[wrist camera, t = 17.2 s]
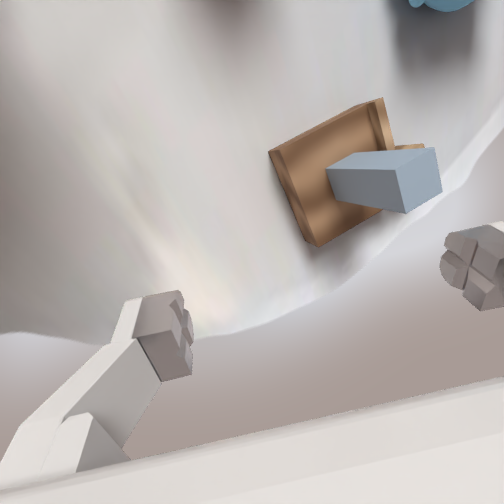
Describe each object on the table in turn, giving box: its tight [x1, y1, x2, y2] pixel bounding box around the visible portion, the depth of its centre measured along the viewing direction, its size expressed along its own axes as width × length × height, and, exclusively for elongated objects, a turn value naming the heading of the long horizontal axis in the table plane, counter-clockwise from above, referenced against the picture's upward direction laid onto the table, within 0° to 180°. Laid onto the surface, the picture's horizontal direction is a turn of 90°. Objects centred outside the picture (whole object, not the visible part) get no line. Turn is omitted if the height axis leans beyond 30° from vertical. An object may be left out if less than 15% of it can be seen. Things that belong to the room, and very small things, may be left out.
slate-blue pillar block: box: [325, 147, 443, 214], centre depth 33 cm, size 4×4×12 cm
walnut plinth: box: [268, 97, 395, 248], centre depth 39 cm, size 14×14×6 cm
